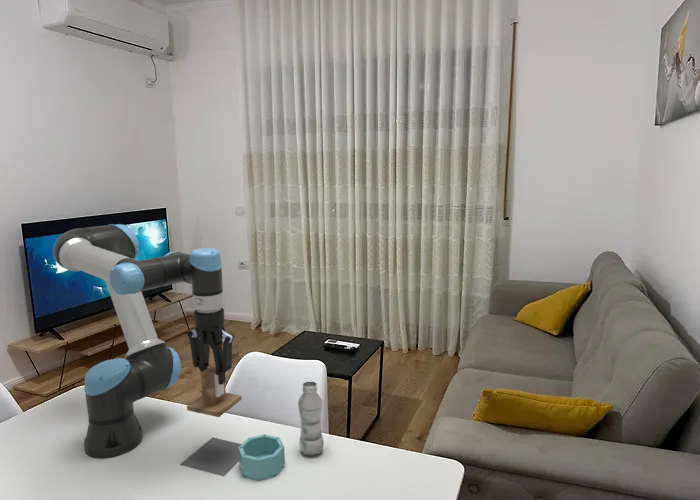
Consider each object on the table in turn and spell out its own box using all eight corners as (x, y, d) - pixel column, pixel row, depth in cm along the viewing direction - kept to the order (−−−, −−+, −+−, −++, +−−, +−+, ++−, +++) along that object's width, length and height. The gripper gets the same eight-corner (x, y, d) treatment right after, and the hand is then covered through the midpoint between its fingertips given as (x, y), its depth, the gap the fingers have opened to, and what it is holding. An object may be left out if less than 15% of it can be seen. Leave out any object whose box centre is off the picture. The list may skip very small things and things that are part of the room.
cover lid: (187, 410, 130) (184, 373, 128) (211, 393, 139) (208, 359, 137) (218, 417, 126) (216, 379, 124) (241, 399, 135) (239, 364, 133)
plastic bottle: (320, 460, 133) (318, 390, 130) (296, 457, 134) (294, 388, 131) (326, 446, 139) (325, 380, 136) (303, 444, 141) (301, 378, 137)
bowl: (232, 475, 127) (231, 453, 126) (255, 451, 137) (254, 432, 136) (269, 485, 123) (268, 463, 122) (290, 460, 133) (290, 439, 132)
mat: (179, 465, 131) (179, 464, 131) (212, 438, 144) (212, 437, 144) (223, 477, 126) (223, 476, 126) (253, 448, 139) (253, 447, 139)
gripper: (173, 309, 127) (180, 394, 131) (226, 316, 121) (231, 405, 126) (193, 301, 134) (198, 383, 138) (243, 307, 128) (247, 392, 132)
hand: (214, 393), depth 132 cm, fingers closed on cover lid, 3 cm apart
